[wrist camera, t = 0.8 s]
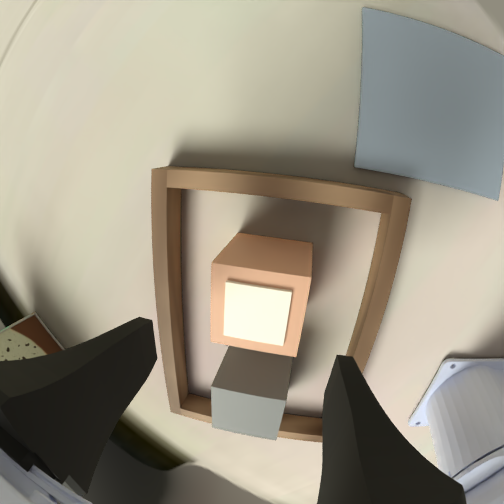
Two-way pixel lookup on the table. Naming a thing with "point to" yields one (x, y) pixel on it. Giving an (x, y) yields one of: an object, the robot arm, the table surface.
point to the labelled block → (260, 293)
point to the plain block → (250, 392)
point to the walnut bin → (271, 185)
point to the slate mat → (430, 105)
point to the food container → (27, 340)
